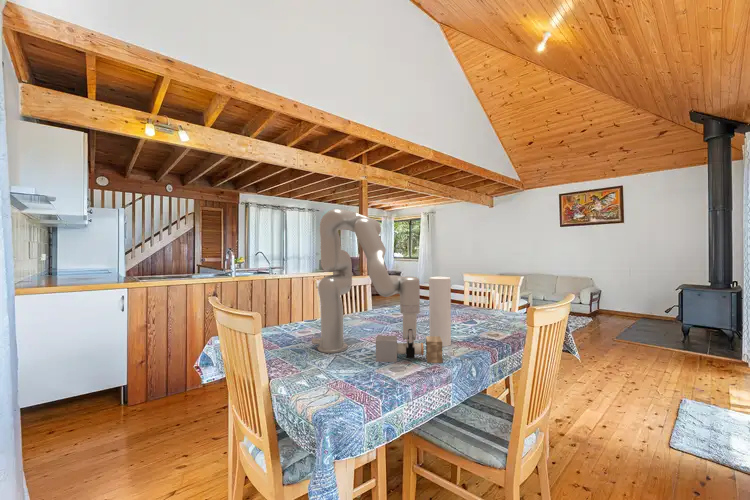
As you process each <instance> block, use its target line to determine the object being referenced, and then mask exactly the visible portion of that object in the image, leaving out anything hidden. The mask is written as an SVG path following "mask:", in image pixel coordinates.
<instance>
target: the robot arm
mask: <svg viewBox="0 0 750 500" xmlns="http://www.w3.org/2000/svg"><path fill="white" fill-rule="evenodd" d="M380 224H381V223H379V221H378V220H376V219H374V218H372V217H368V216H367V215H366V216H365V215H363V214H360V213H358V212H355V211H351V210H346V209H343V208H341V209H340V208H334V209H330V210H328V211H327V212H326V213H324V215H322V217H321V219H320V223H319V235H320V265H321V269H323V271H325V272H327V273H332V274H330V275H327V276H324V277H323V278H322V279H320V281H319V283H318V286H317V287H318V296H319V302H320V337H319V338H313V337H312V338H311V343H312V345H317V351H319V352H321V353H325V354H326V353H327V354H335V353H341V352H344V351H346V350H348V344H347V343H345V342H344V306H343V300H342V297H341V296H343V295H346V294H348V293H349V292H350V291H351V289H352V284H353V270H352V269H353V267H352V266H353V265H352V258H351V256H350V253H348V251H346V250H344V249H342V247H341V246H342V245H341V242H342V241H341V236H340V234H339V230H344V231H349V232H353V233H354V234H355V236H356V238H357V241H358V242H359V244H360V248H361V249H362V252H363V254H364V255H365V257H366V264H367V265H366V266H367V272H368V276H369V279H370V280H371V283H372V285H373V287H374V289H375V291H376V292H377V293H378V295H379V296H382V297H384V298H388V297H392V296H394V295H397V294H399V305H400V306H399V311H400V312H399V313H400V314H402V339H403V340H404V341H405V340H406V343H407V347H406V354H405V357H406V359H415V356H416V355H415V347H414V343H415V340H416V339H417V324H418V322H417V321H418V319H417V318H418V317H417V315H419V314H420V312H421V310H420V309H421V307H420V305H421V303H420V302H421V301H420V294H421V292H420V290H421V289H420V279H419V278H418V277H417V276H400V275H396V274H395V275H393V274H392V275H389V271H388V270H387V267H386V265H385V255H386V251H387V249H386V246H385V245H384V243H383V241H382V239H381V237H380V234H381V231H382V228H381V225H380Z"/></svg>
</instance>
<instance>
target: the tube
mask: <svg viewBox="0 0 750 500" xmlns="http://www.w3.org/2000/svg"><path fill="white" fill-rule="evenodd" d="M406 347H407V342H397V355H406ZM414 347H415V356H416V355H420V356H424V353H425V349H424V342H420V343H419V342H417V343H416V342H414Z"/></svg>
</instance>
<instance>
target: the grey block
mask: <svg viewBox="0 0 750 500" xmlns="http://www.w3.org/2000/svg"><path fill="white" fill-rule="evenodd" d="M397 343H398V335H376V338H375V362H376V363H377V362H378V363H380V362H381V363H382V362H383V363H397V362H398V354H397Z"/></svg>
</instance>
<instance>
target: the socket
mask: <svg viewBox="0 0 750 500" xmlns="http://www.w3.org/2000/svg"><path fill="white" fill-rule="evenodd" d="M425 358H426V362H427V363H428V364H442V363H443V347H442V340H441V337H440V336H430V335H429V336H428V335H427V336H425Z"/></svg>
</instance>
